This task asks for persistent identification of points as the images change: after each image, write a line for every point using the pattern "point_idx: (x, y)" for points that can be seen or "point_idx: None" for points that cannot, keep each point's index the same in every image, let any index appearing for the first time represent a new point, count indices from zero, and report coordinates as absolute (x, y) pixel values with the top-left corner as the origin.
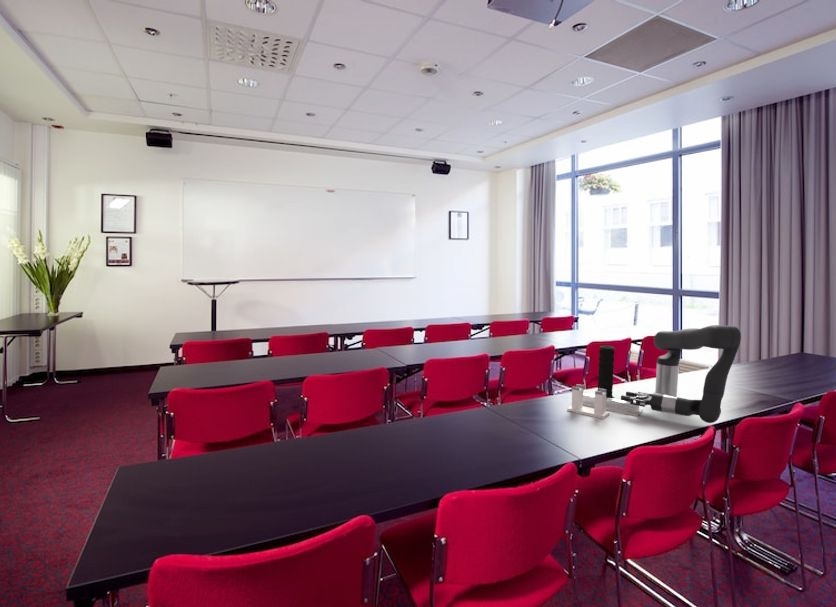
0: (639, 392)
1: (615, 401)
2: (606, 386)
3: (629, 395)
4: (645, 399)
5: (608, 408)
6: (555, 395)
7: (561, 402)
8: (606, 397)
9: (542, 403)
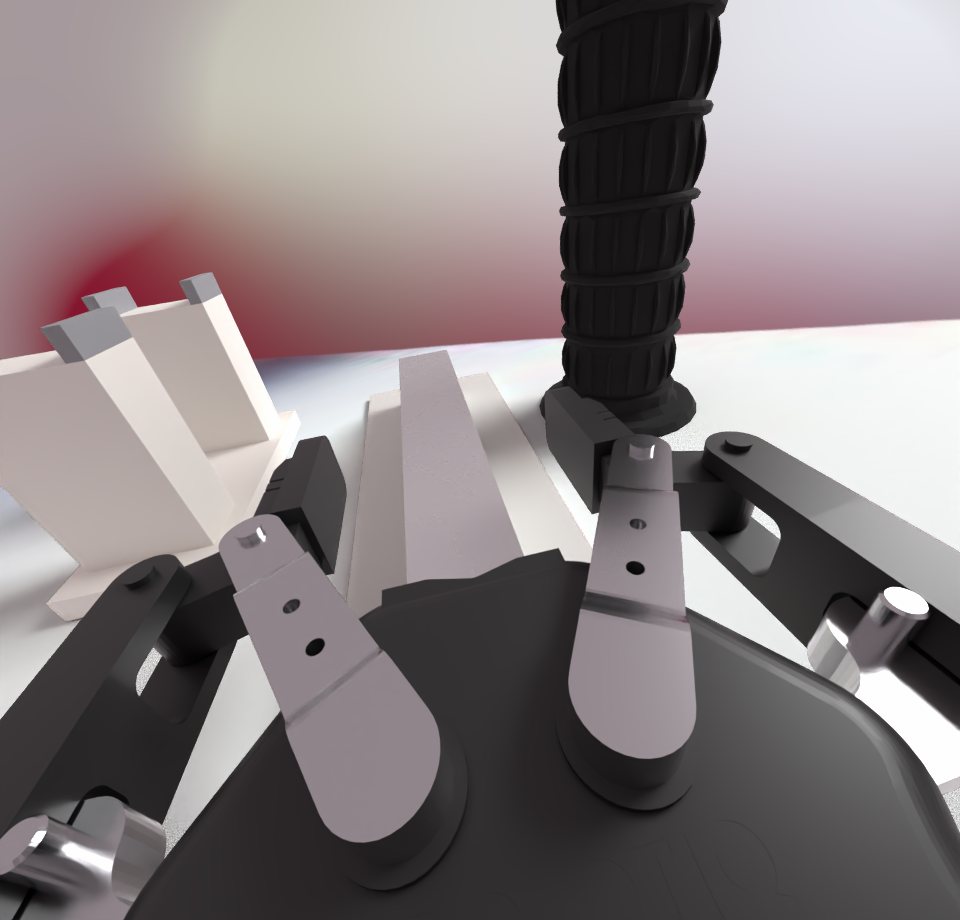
0: (725, 453)
1: (403, 473)
2: (586, 311)
3: (563, 452)
4: (186, 911)
5: (385, 507)
6: (430, 347)
7: (344, 385)
8: (458, 407)
9: (281, 377)
